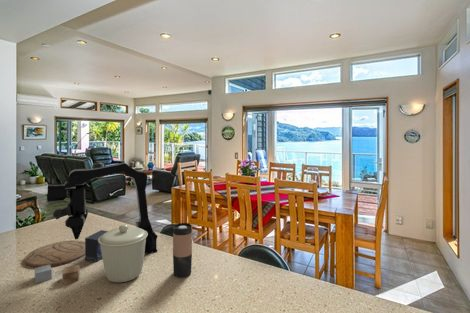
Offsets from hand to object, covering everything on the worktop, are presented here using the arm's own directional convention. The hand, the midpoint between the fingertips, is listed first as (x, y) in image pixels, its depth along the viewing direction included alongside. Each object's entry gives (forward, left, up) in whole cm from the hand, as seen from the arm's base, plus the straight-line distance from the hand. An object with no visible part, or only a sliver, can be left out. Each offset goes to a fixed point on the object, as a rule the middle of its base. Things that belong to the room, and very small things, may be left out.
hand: (78, 235), depth 110 cm
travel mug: (-39, +24, -14) cm, 48 cm away
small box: (-7, -6, -14) cm, 17 cm away
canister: (-17, +16, -14) cm, 27 cm away
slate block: (+12, +6, -14) cm, 19 cm away
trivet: (+10, -16, -14) cm, 23 cm away
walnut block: (+2, +11, -14) cm, 17 cm away
